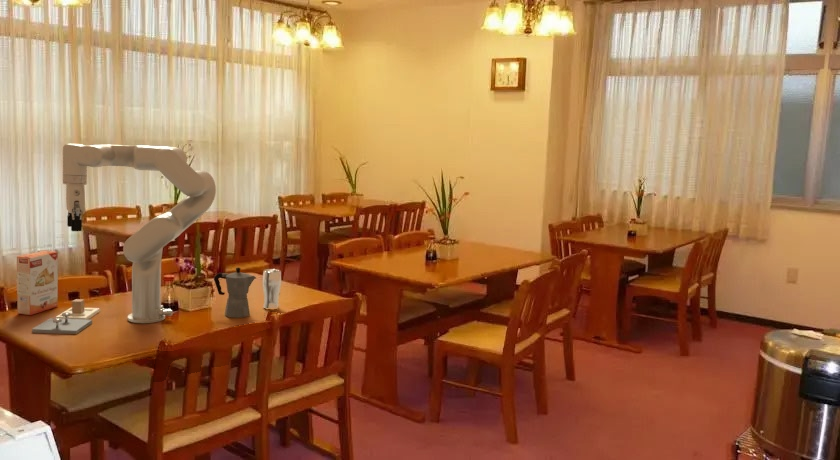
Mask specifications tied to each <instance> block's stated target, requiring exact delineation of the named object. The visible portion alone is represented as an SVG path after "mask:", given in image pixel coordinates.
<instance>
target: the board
mask: <svg viewBox="0 0 840 460" xmlns="http://www.w3.org/2000/svg"><path fill="white" fill-rule="evenodd" d="M53 319H54V318H52V317H51V318H48V319H46V320H45V321H43V322H41V323H40V324H38V325H36V326H35V327H33V328H31V333H33V334H59V335H60V334H61V335H62V334H63V335H78V334H79V333H80V332H81V331H83V330H85V329H86V328H87V327H89V326H91V325H92V324H93V319H88V320H83V319H68V322H65V319H62V321H61V322H59V327H58V328H56V323H55V322H53Z"/></svg>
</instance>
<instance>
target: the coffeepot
mask: <svg viewBox="0 0 840 460" xmlns="http://www.w3.org/2000/svg"><path fill="white" fill-rule="evenodd" d="M235 271H236V272H235ZM235 271H234V272H231V273H227V272H226V273H223V272H218V273H216V275H214V277H213V281H214V283H215V288H216V290H217V292H218V295H220V296H225V294H226V292H222V286H221V285H220V284H221V283H220V280H219V279H225V282H226V283H225V284H226V291H227V294H228V297H227V301H226V305H225V311H224V314H225V315H224V316H225V317H227V318H231V319H241V318H247V317H248V315H249V316H250V313H251V312H250V307H249V300H248V294H249V291H250V290H249V289H250V286H251V285H252V284H253V282H254V280H256V279H257V277H256V276H255V275H252V274H249V273H245V272H241V267H236V268H235Z"/></svg>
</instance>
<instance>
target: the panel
mask: <svg viewBox="0 0 840 460" xmlns="http://www.w3.org/2000/svg"><path fill="white" fill-rule="evenodd" d="M66 312H69V313H71V316H68V319H83V320H91V318H92V317H95V316H96V315H97V314H99V313H100V312H101V308H99V307H85V299H81V298H80V299H79V298H76V299H74V300H72V301H71V307H70V308H68V309H66V310H65V311H63V312H62V313H66ZM62 313H60V314H58V315H57V316H55V318H61V319H65V317H63V316H62Z"/></svg>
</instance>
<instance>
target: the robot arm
mask: <svg viewBox="0 0 840 460" xmlns="http://www.w3.org/2000/svg"><path fill="white" fill-rule="evenodd" d="M187 161H188V157H187V154H186V153H185V151H184V150H183V149H182V148H179V147H175V146H160V145H159V146H157V145H156V146H155V145H141V144H140V145H137V144H136V145H122V144H93V145H92V144H91V145H85V144H82V143H65V144H64V145H63V147H62V185H65V186H66V187H65V188H66V189H65V202H66V203H65V207H66V210H67V216H66V217H67V220H66V221H67V222H66V223H67V224H66V225H67V227H70V231H72V232H82V230H83V219H82V214H85V213H86V201H85V200H86V194H85V193H86V192H85V185H87V184H88V180H87V179H88V178H87V177H88V167H89V168H101V167H108V166H109V167H127V168H128V167H129V168H133V169H135V170H137V171H154V172H155V171H157V172H160V173H161V174H162V175H163V177H165V178H166V179H167V181H169V182H170V183H171V184H172V185H173V186H174V187H175V188H176V189H177V190H179V191H180V192H181V193H182V194H183V195H185V197H184V198H183V199H182V200H180V201H179V202H178V203H177V204H176V205H174V206H173V207H172V208H171V209H169V210H168V211H166V212H165V213H162V214H159V215H157V216H155V217H154V218H152V219H151V220H149V221H148V222H147V223H145V224H144V225H143V226H142V227H141V228H139V229H138V230H136V232H134V233H133V234H132V235H130V236H129V237H128V238H127V239H126V241H124V244H123V248H122V250H123V251H122V252H123V255H124V257H125V259H126V260H128V261H129V262H132V266H131V269H132V270H131V308H132V309H131V311H132V312H131V313H130V314H128V315H127V321H128V322H131V323H135V324H154V323H158V322H161V321H163V320H165V319H166V316H169V317H171V316H172V317H173V314H174V310H173V309H171V308H164V305H163V304H161V301H162V298H161V296H162V288H161V287H162V281H161V280H162V279H161V277H162V257H163V250H164V249H163V248H164V247H166V246H167V245H168V244H169V243H170V242H172V241H174V240H175V239H177V238H178V237H179V236H181V234H182V233H183V232H185V230H187V229H188V228H189V227H190V226H192V225H193V224H194V223H196V221H197V220H199V218H201V217H202V216H203V215H205V213H206V212H208V210H209V209H210V207H211V206H212V205H213V203H214V200H215V198H216V194H217V193H216V192H217V190H216V189H217V187H216V183H215V180H214V178H213V176H212V175H211V174H210V173H209V172H207V171H205V170H195V169H194V168H192V167H191V166H190V164H188V163H187Z"/></svg>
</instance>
